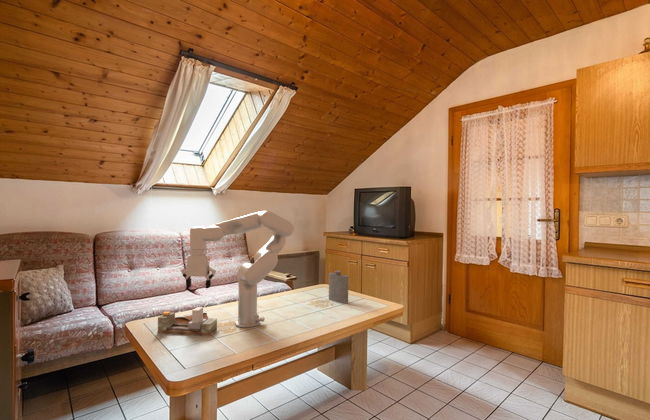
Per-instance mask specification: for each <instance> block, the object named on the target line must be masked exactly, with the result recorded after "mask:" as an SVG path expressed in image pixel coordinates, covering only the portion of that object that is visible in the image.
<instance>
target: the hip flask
mask: <svg viewBox="0 0 650 420" xmlns="http://www.w3.org/2000/svg"><path fill="white" fill-rule="evenodd" d="M328 300H329V301H332V302H335V303H338V304H343V305H349V275H344V274H341V270H335V271H334V272H329V273H328Z"/></svg>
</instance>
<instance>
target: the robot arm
mask: <svg viewBox="0 0 650 420" xmlns="http://www.w3.org/2000/svg"><path fill="white" fill-rule="evenodd" d="M261 228H267V229H269V230H270V231H271V232H272V233H271V237H270V239H269V240H268V241H267V243H266V244H264V245H263V246H262V247H261V248H260V249H259V250H258V251H257V252H255V254H254V257H253V260H254V263H251V262H244V263H242V264H241V265H239V268H238V269H237V284H238V287H237V288H238V292H237V293H238V302H237V303H238V307H237V311H238V312H237V313H238V314H237V315H238V317H237V319H236V320H235V321H234V325H235V326H236V327H238V328H252V327H255V326H256V327H257V326H258V325H259V324H260V323H261V322H263V323H264V322H265V317H264V316H260V315H259V313H258V284H260V282H262V281H263V280H264V279H265V278H266V277H267V276H268V275H269V274H270V273H271V272H273V270H274V269H275V267H277V265H278V261H279V258H278V255H279V254H280V253H281V252H282V250H283V249H284V247H285V245H286V242H287V241H286V240H287V237H291V236H292V235H293V234H294V232H295V231H294V230H295V227H294V224H293V223H292V222H291V221H290V220H287V219H285V218H284V217H282V216H281V215H278V214H276V213H275V212H272V211H270V210H261V211H257V212H253V213H249V214H247V215H243V216H240V217H235V218H233V219H227V220H224V221H221V222H217V223H214V224H211V225H208V226H207V227H204V226H192V227H190V229H189V230H190V231H189V249H188V250H187V253H189V255H187V261H186V267H184V268H183V269H181V270H180V272H181V274H182V277H183V278H184V279H185V285H186V288H188V289H189V288H190V287H192V278H191V277H198V278H199V277H200V278H202V277H204V278H205V279H206V280H205V289H209V288H210V287H211V285H212V279H213V277H214V276H215V275H216V272H217V270H216V269H214V268H212V267H210V260H209V255H208V254H207V250H208V249H207V243H208V242H213V243H214V242H217V243H218V242H220V241H221V240H222V239H223V238H224V237H226V236H230V235H236V234H237V235H238V234H239V235H240V234H241V235H242V234H245V233H248V232H251V231H254V230H258V229H261Z"/></svg>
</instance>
